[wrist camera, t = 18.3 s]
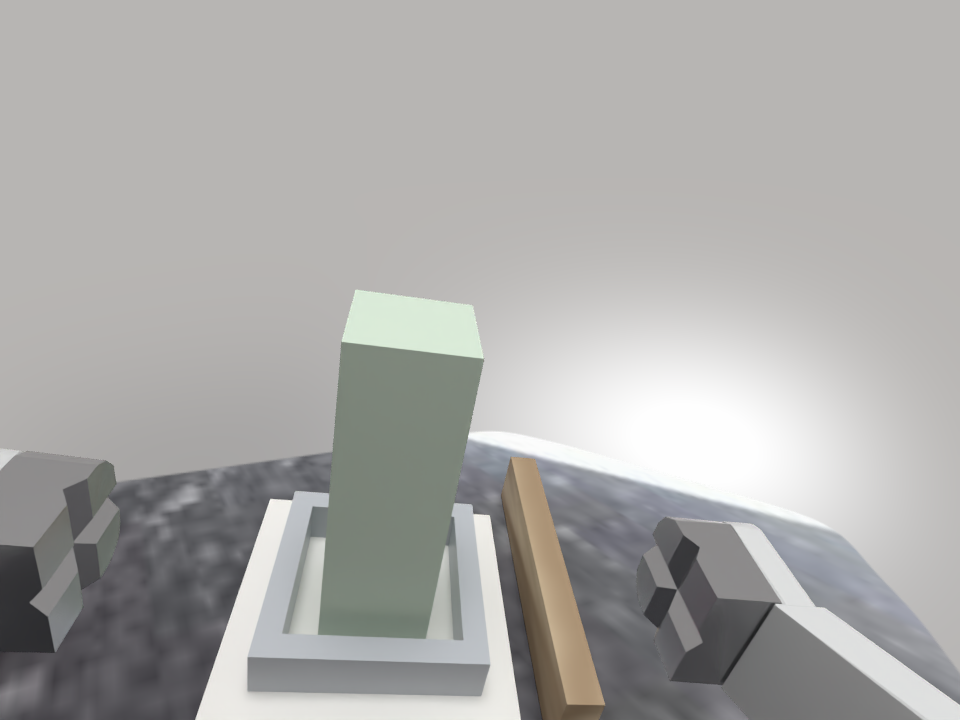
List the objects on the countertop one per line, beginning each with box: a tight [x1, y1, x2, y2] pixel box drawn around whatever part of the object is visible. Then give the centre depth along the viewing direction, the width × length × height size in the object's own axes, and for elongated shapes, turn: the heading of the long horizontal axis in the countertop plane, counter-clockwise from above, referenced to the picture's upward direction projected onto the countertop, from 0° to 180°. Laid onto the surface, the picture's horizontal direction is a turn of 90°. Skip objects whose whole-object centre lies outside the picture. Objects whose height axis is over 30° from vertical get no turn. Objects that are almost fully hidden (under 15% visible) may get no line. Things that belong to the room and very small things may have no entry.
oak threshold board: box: [501, 457, 605, 720], centre depth 29 cm, size 2×15×3 cm, turn 6°
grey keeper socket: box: [195, 491, 521, 720], centre depth 26 cm, size 12×12×3 cm
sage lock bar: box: [318, 290, 484, 639], centre depth 23 cm, size 4×4×14 cm
